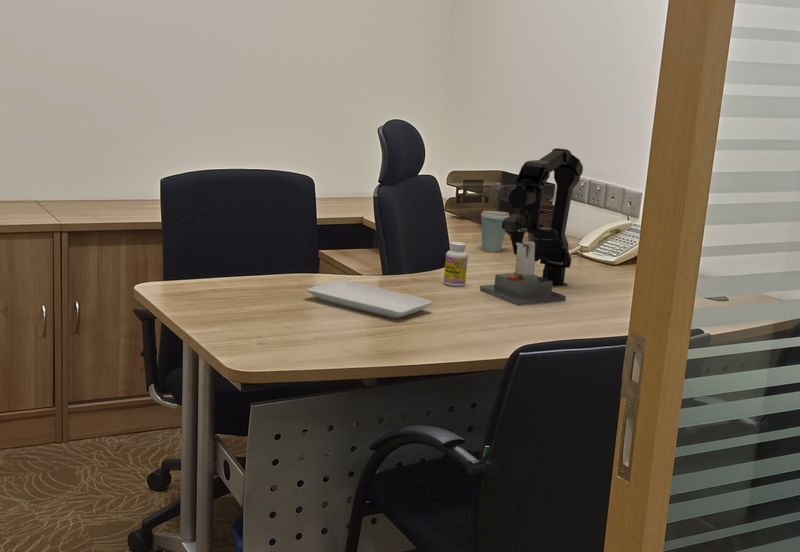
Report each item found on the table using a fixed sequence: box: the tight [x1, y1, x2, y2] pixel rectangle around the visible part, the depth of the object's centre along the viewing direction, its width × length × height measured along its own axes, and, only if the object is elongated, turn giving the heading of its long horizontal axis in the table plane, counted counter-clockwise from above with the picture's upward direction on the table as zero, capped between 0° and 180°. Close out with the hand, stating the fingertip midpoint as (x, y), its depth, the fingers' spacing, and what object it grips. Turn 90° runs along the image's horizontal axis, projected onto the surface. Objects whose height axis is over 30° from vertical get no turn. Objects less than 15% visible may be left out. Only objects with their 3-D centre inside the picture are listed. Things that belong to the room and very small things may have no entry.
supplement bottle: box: [443, 241, 469, 288], centre depth 283 cm, size 7×7×13 cm
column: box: [513, 241, 536, 280], centre depth 274 cm, size 6×4×11 cm
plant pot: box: [527, 203, 554, 242], centre depth 357 cm, size 16×16×16 cm
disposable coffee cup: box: [480, 210, 510, 253], centre depth 344 cm, size 11×11×15 cm
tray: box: [306, 279, 434, 319], centre depth 251 cm, size 17×32×4 cm, turn 55°
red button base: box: [479, 272, 567, 306], centre depth 275 cm, size 18×18×6 cm
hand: (526, 257), depth 274 cm, fingers open, 9 cm apart
